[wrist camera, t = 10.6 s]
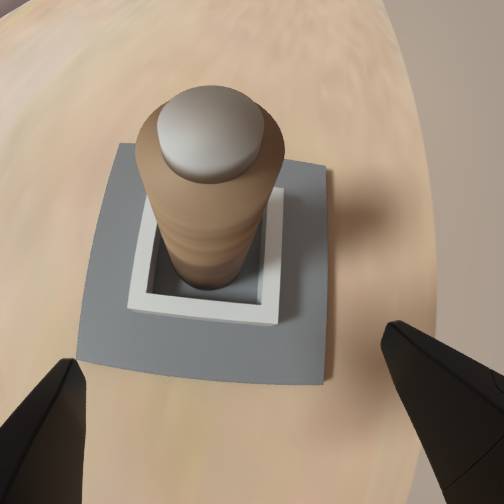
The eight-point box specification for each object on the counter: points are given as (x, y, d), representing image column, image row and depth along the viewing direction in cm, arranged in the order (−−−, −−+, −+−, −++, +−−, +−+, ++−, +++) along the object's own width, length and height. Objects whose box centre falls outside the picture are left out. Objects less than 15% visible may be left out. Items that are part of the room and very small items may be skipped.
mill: (223, 303, 20) (248, 224, 8) (159, 269, 20) (97, 151, 8) (255, 241, 21) (313, 105, 9) (194, 211, 22) (186, 55, 9)
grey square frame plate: (318, 383, 20) (334, 388, 17) (81, 359, 18) (63, 360, 16) (321, 172, 25) (334, 152, 22) (122, 150, 23) (114, 127, 20)
